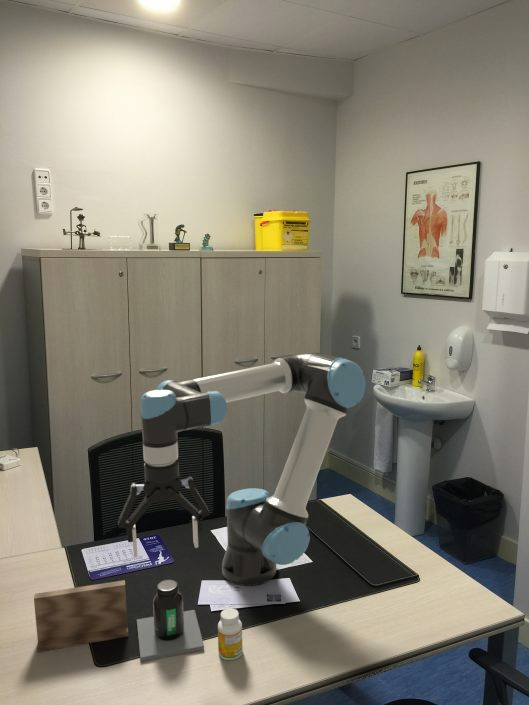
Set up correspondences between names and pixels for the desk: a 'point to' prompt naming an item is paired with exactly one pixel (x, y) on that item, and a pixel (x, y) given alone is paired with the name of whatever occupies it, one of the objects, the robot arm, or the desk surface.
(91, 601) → the walnut screen
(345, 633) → the desk surface
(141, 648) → the slate mat
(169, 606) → the supplement bottle
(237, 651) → the supplement bottle
